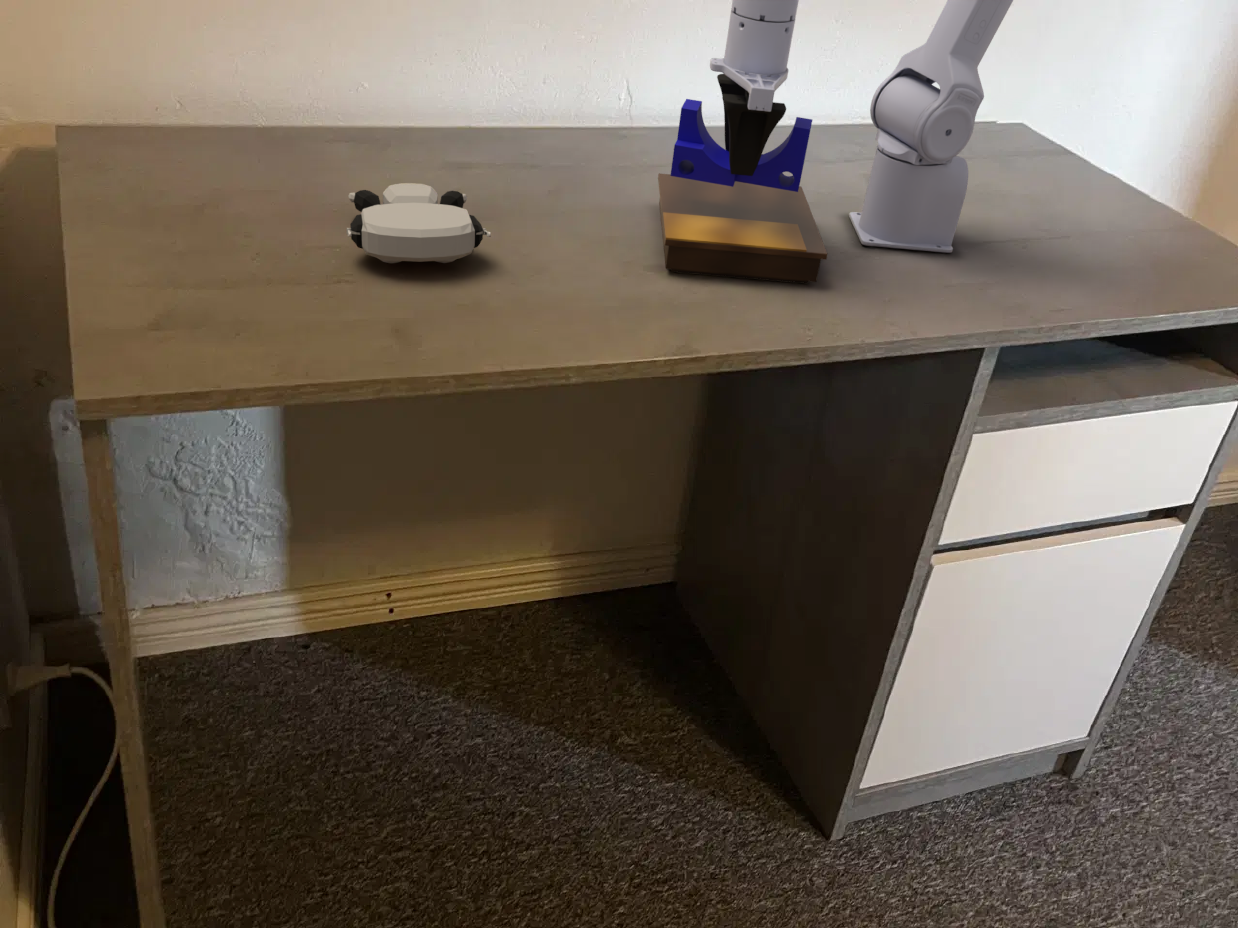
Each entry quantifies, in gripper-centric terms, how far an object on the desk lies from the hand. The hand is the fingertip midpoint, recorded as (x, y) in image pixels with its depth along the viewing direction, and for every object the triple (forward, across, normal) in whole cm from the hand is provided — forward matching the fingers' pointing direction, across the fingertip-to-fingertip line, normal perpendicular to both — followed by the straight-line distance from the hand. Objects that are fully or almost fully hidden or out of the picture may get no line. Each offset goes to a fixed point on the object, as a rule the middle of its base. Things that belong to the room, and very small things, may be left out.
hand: (738, 164), depth 108 cm
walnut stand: (+8, 0, +1) cm, 8 cm away
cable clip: (+2, 0, 0) cm, 2 cm away
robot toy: (+9, +6, -30) cm, 32 cm away
